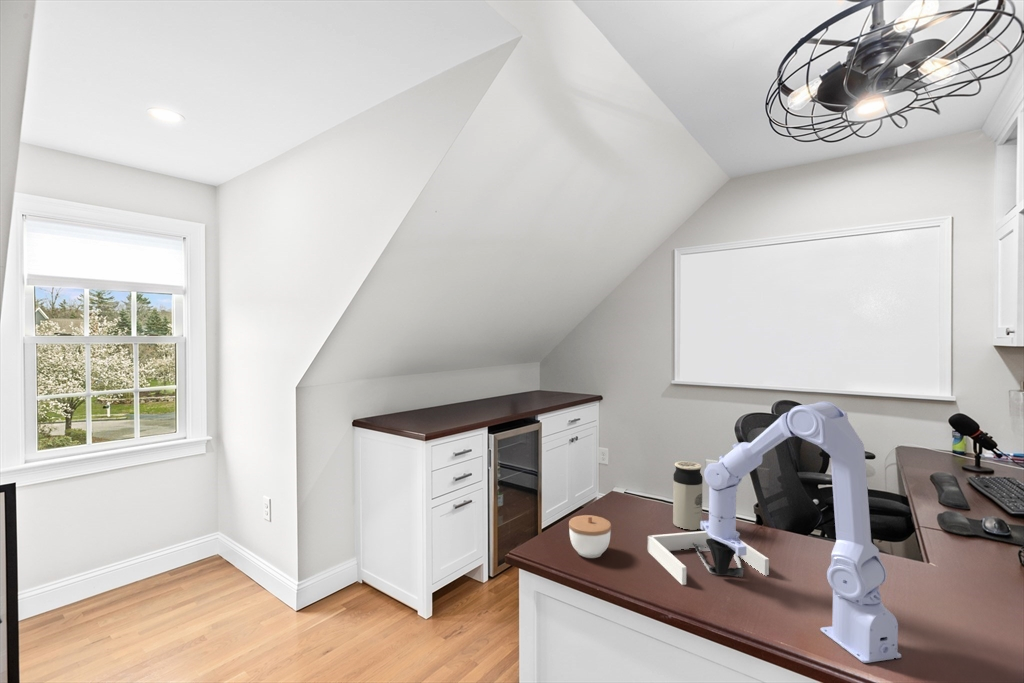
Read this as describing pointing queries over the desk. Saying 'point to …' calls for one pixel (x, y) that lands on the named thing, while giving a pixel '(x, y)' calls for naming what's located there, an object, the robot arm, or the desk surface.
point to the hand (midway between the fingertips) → (721, 572)
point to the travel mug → (687, 495)
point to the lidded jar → (589, 535)
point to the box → (678, 541)
